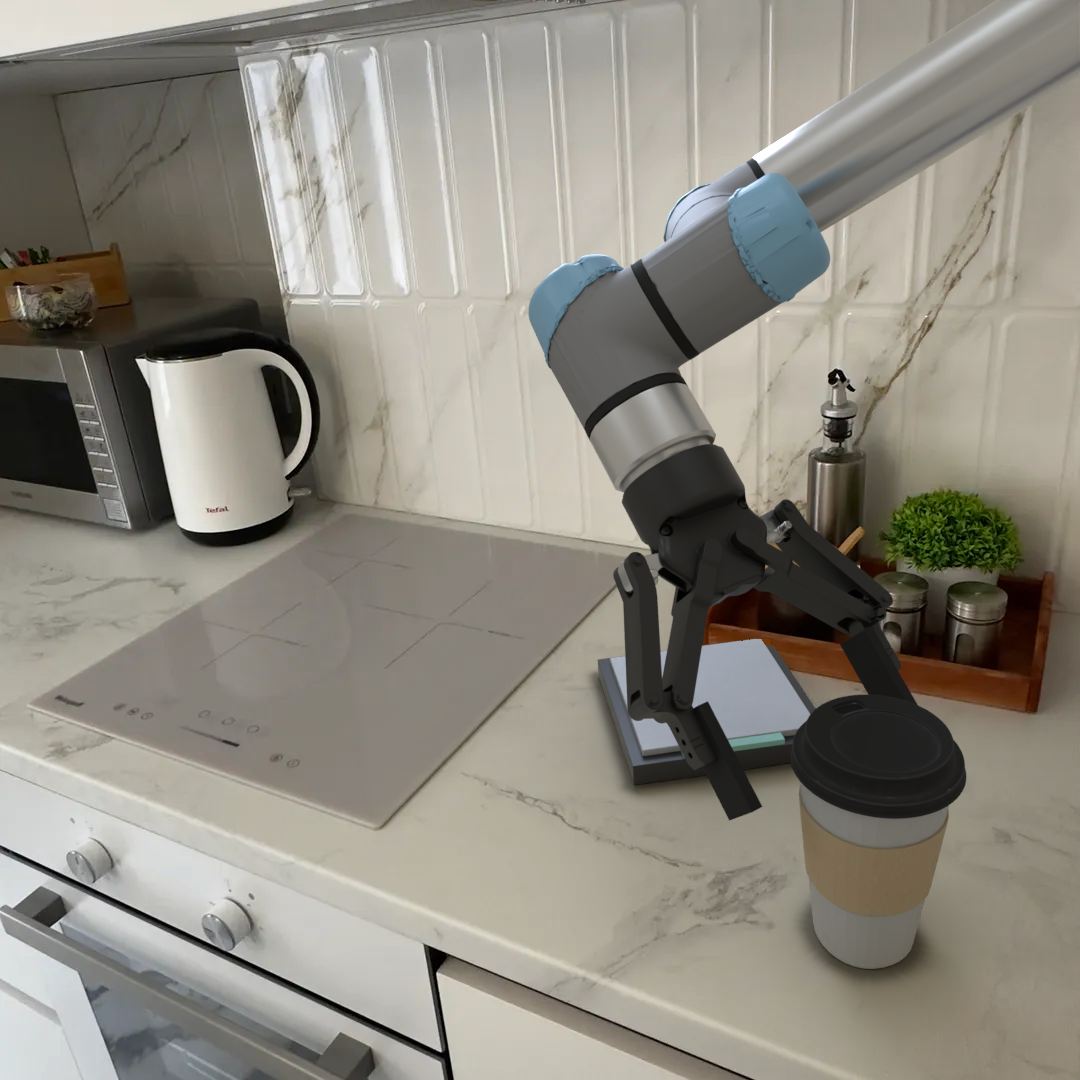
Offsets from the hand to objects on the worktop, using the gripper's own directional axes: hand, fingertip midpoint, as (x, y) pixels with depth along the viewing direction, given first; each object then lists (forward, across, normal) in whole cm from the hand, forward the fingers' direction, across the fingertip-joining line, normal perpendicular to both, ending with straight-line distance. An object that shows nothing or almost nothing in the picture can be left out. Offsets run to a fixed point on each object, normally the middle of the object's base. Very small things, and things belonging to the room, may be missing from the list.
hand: (831, 769), depth 59 cm
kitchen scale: (-7, -8, -22) cm, 25 cm away
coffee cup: (+10, 0, -6) cm, 11 cm away
